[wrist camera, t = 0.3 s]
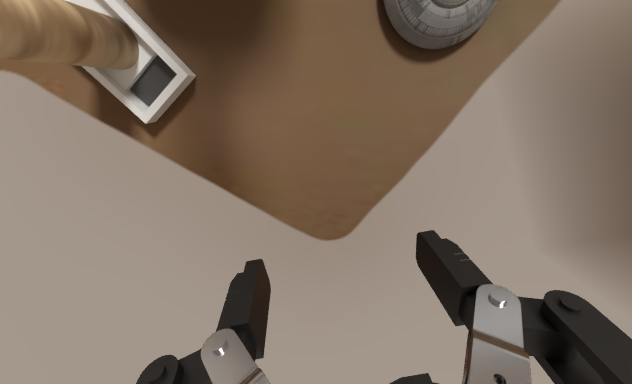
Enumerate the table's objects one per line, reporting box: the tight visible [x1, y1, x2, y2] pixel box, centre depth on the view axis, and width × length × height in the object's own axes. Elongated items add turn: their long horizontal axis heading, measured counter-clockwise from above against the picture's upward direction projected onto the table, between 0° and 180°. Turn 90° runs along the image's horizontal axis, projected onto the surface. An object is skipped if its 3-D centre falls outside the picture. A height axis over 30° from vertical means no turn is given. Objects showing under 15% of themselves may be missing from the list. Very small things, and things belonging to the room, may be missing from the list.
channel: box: [65, 0, 196, 124], centre depth 31 cm, size 28×10×2 cm, turn 41°
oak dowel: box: [0, 0, 139, 70], centre depth 25 cm, size 6×6×16 cm
